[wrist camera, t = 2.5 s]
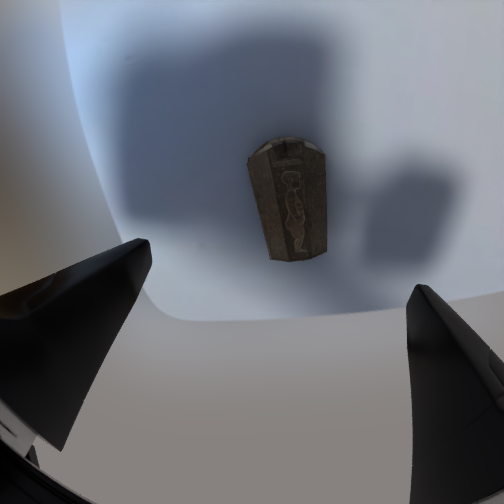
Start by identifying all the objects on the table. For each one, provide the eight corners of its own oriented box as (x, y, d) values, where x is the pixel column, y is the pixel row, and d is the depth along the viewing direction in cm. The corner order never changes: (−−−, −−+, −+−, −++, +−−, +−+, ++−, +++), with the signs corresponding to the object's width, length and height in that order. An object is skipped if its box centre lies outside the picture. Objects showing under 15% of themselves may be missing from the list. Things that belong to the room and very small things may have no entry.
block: (271, 248, 17) (265, 266, 15) (245, 142, 14) (236, 150, 12) (336, 241, 16) (337, 260, 14) (320, 130, 13) (321, 137, 11)
